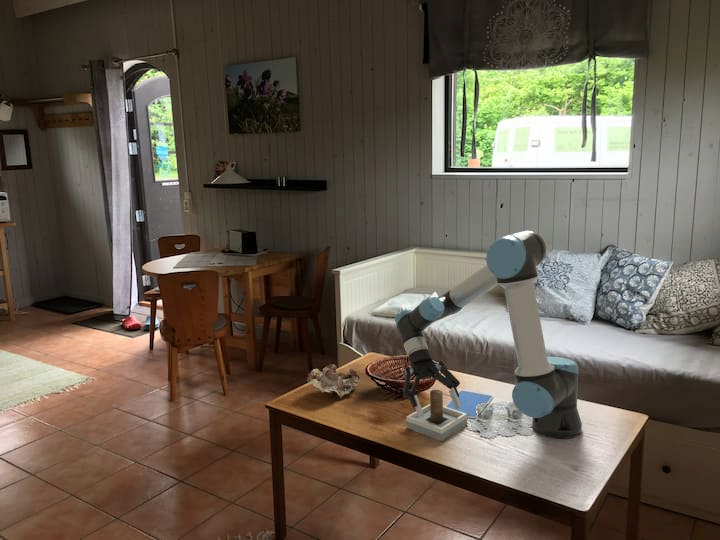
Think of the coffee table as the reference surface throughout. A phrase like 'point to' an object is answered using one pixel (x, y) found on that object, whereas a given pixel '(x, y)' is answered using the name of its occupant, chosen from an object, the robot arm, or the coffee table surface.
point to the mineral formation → (333, 380)
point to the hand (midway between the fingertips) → (440, 411)
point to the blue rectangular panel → (470, 402)
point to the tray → (423, 425)
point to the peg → (436, 406)
